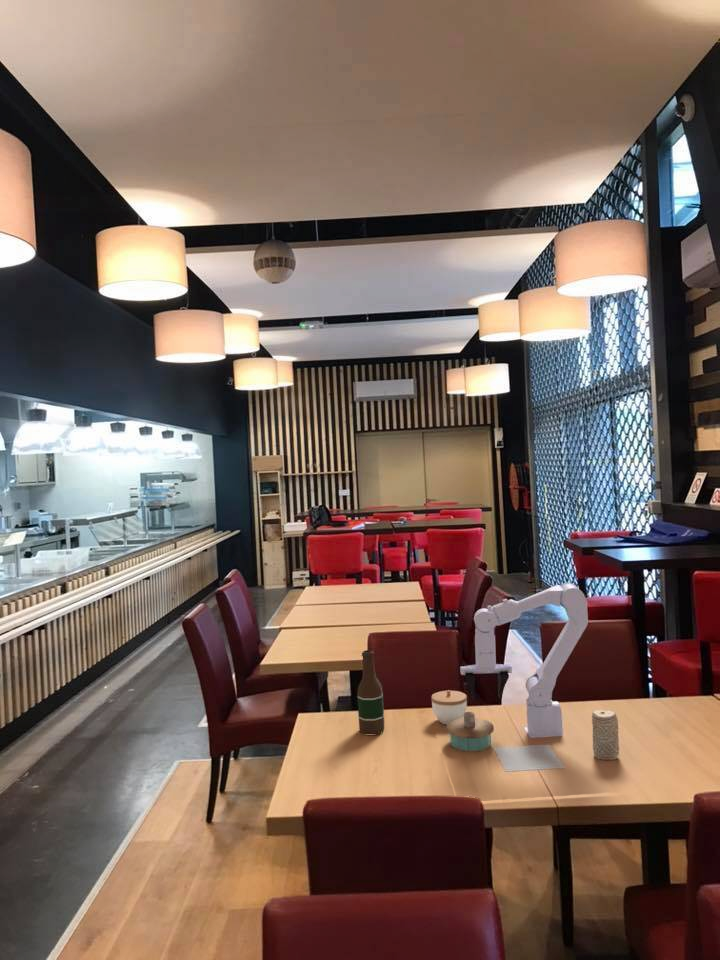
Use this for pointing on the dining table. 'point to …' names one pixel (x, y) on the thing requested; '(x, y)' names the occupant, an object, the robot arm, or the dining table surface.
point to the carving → (605, 734)
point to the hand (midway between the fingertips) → (486, 698)
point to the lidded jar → (449, 705)
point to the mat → (528, 758)
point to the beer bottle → (370, 698)
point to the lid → (470, 727)
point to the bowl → (470, 743)
